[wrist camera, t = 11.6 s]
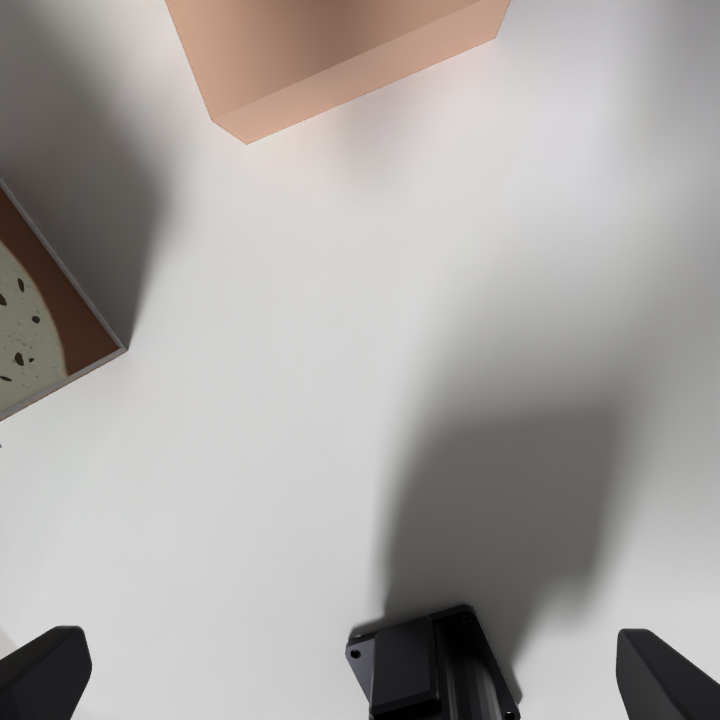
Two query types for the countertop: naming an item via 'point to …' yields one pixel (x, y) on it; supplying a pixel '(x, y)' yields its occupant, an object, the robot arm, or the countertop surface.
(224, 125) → the terracotta block
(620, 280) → the countertop surface
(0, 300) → the food container
